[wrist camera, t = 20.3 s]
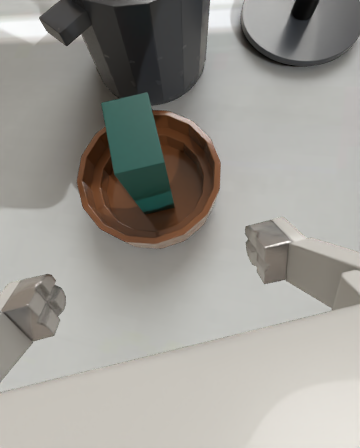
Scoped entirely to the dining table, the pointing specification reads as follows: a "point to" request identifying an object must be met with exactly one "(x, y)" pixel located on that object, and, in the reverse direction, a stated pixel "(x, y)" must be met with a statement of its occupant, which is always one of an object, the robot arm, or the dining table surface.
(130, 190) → the block
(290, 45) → the lid
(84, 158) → the bowl
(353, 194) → the dining table surface
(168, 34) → the pot
